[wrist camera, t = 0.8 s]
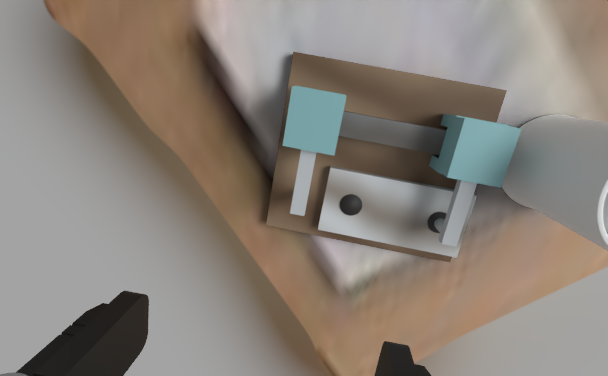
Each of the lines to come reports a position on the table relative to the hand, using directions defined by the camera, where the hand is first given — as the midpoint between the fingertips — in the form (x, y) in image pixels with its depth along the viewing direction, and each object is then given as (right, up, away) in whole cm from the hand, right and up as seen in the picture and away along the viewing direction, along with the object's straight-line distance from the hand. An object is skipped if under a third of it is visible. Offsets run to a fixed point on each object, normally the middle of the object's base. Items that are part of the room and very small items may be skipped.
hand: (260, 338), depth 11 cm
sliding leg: (+2, +9, +19) cm, 21 cm away
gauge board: (+8, +8, +20) cm, 23 cm away
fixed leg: (+14, +6, +19) cm, 24 cm away
